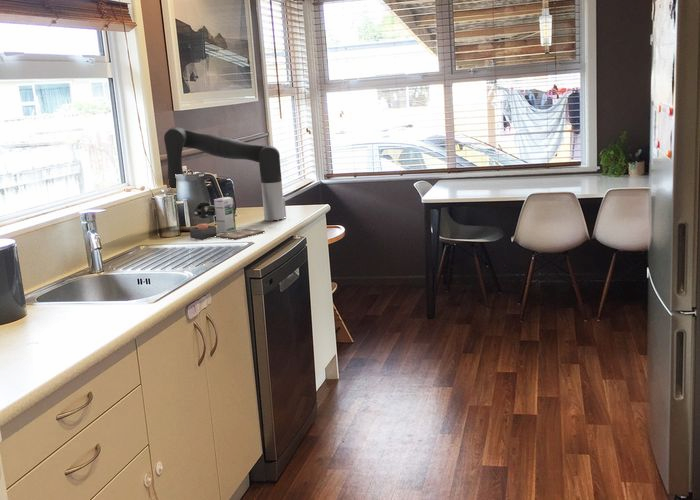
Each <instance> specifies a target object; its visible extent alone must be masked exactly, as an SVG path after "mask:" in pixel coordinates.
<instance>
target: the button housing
mask: <svg viewBox="0 0 700 500" xmlns="http://www.w3.org/2000/svg"><path fill="white" fill-rule="evenodd" d="M189 234H190V239H193V240H201V241H204V240H207V238H208V239H211V237H212V238H216V237H215V236H216V235H218V231H217V226H211V225H208V228H206V229H198V228H197V226H196V227H192V228H189Z"/></svg>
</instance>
